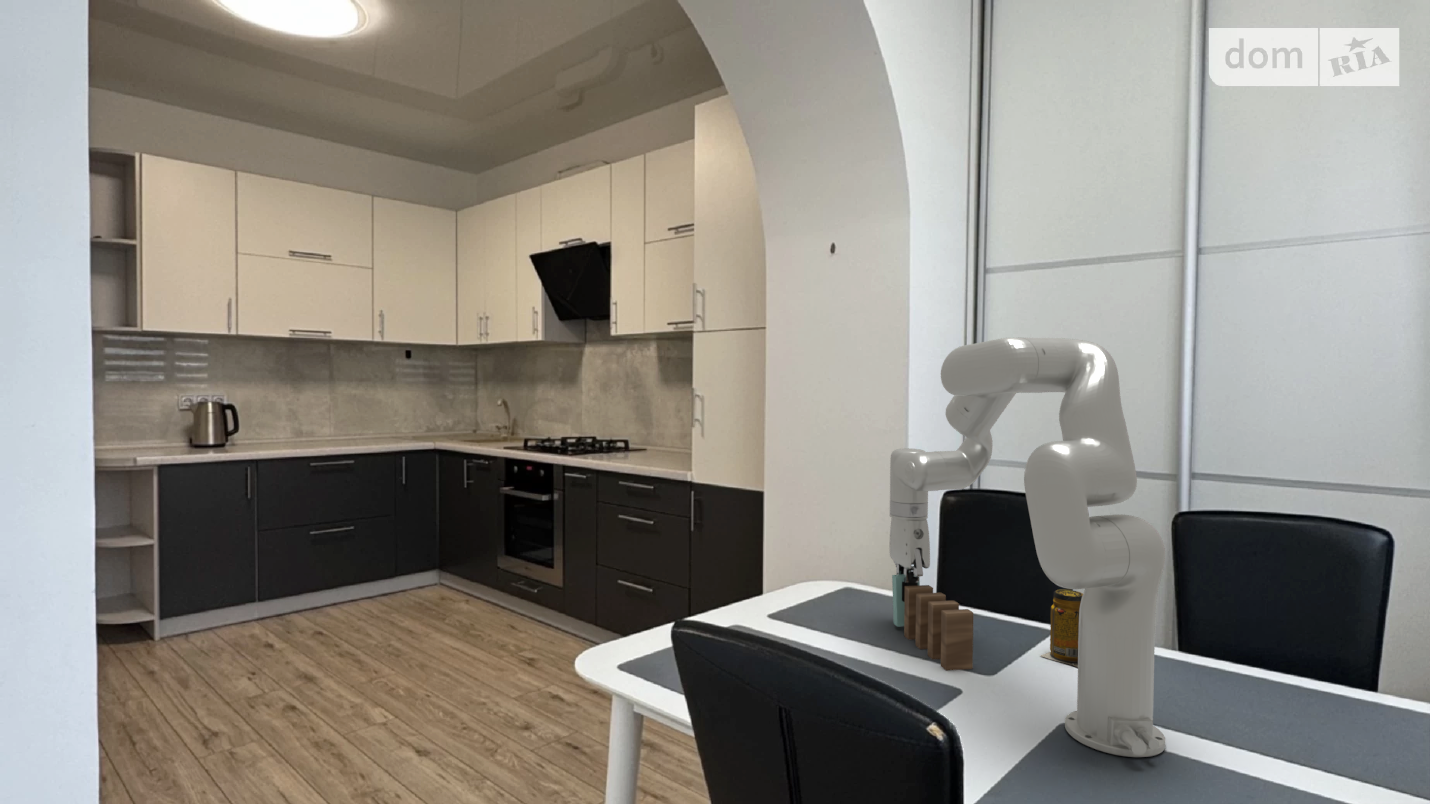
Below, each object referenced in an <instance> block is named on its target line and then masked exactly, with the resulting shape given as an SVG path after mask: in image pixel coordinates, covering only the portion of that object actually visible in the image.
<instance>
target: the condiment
mask: <svg viewBox="0 0 1430 804" xmlns="http://www.w3.org/2000/svg"><path fill="white" fill-rule="evenodd" d="M1083 593H1084V592H1080V591H1078V590H1074V589H1065V588H1062V589H1057V590H1054V591H1053V599H1052V601H1053V604H1052V605H1051V606H1050V627H1049V628H1050V630H1049V632H1050V633H1049V635H1050V639H1049V642H1050V644H1049V650H1050V651H1049V652H1047V653H1046V652H1045V653H1043V654H1041V655H1040V657H1042V658H1046V659H1048V660H1053V661H1054V662H1059V663H1063V664H1067V665H1070V666H1074V667H1076V668H1078V638H1079V610H1080V603H1081V599H1082V596H1083Z"/></svg>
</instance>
